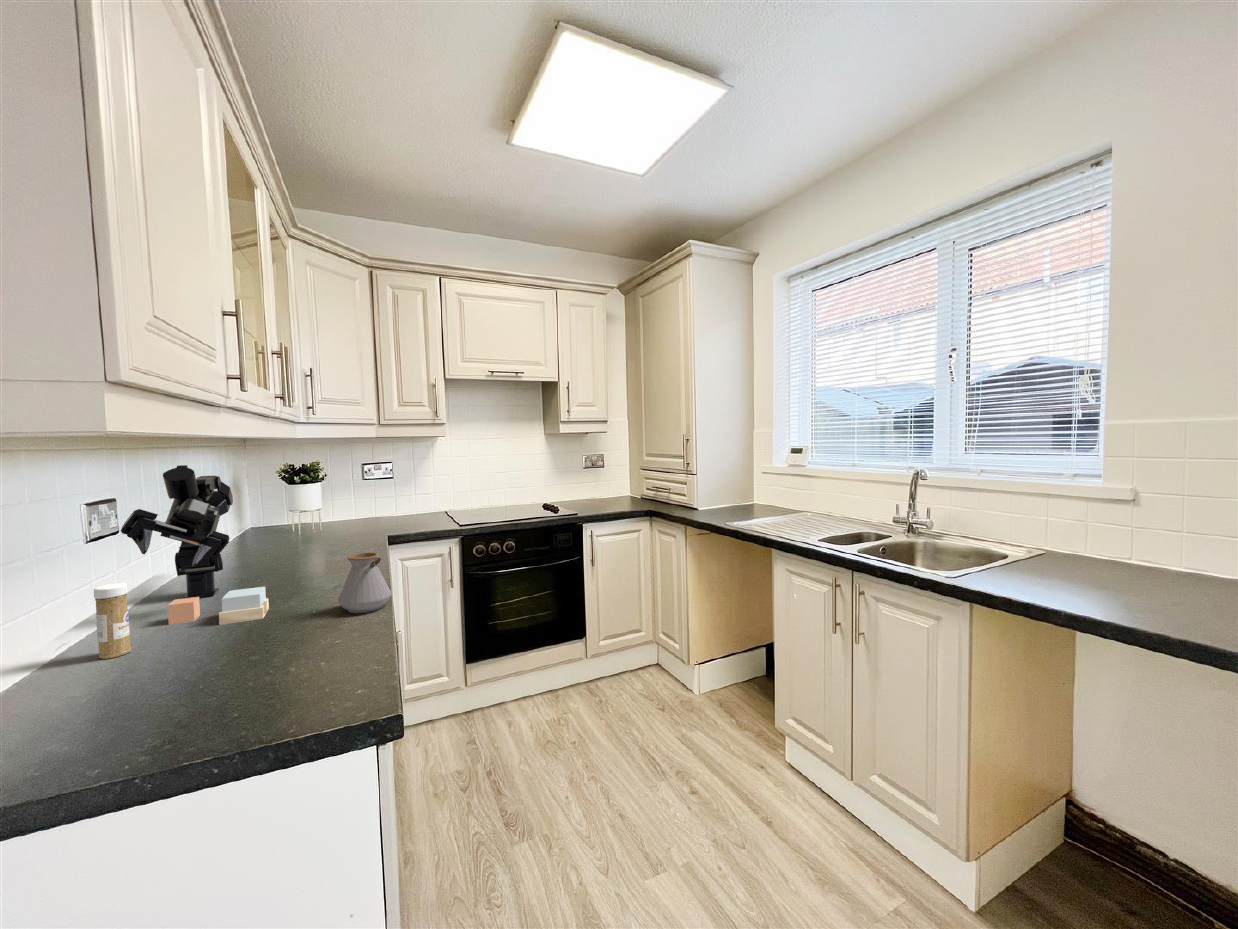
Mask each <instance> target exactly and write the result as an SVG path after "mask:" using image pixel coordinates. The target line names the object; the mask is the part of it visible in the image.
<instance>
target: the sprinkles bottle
mask: <svg viewBox="0 0 1238 929" xmlns="http://www.w3.org/2000/svg"><path fill="white" fill-rule="evenodd" d="M128 593H129V588H128V583H125V582H115V583H108V584H103V585H100V586H99V585H98V586H97V587H94V588H93V598H94V601H95V609H96V613H95V620H96V621H95V623H96V636H97V642H98V658H99V659H103V660H105V659H113V658H118V657H121V656H123V655H126V654H128V653H129V652H131V651H132V647H131V641H130V640H131V638H130V634H131V633H130V632H131V631H130V630H131V629H130V618H129V607H128Z"/></svg>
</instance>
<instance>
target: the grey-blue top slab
mask: <svg viewBox="0 0 1238 929" xmlns="http://www.w3.org/2000/svg"><path fill="white" fill-rule="evenodd" d="M266 595H267V594H266V586H258V587H252V588H251V587H249V588H242V589H241V588H240V589H234V590H233V589H232V590H229V591H228V592H226V593H225V595H223V597H222V598H221V610H222V612H226V611H234V610H242V609H249V608H257V607H261V605H262V604H263V602H264V601H265V599H266V598H267V596H266Z"/></svg>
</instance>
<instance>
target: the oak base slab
mask: <svg viewBox="0 0 1238 929" xmlns="http://www.w3.org/2000/svg"><path fill="white" fill-rule="evenodd" d="M269 601H270V600H269V598H268V597H266V599H265V601H264V602H263V604H262V605H261V607H257V608H249V609H242V610H234V611H226V612H222V609H221V610H220V612H219V613H218V621H219V622H218V623H219V626H220V625H221V626H222V625H228V624H234V623H235V624H237V623H243V622H250V621H256V620H263V619H264V617H265V616H266V614H267V613H268V611H269V609H270V605H269V604H270V603H269Z"/></svg>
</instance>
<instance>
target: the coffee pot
mask: <svg viewBox="0 0 1238 929" xmlns="http://www.w3.org/2000/svg"><path fill="white" fill-rule="evenodd" d="M346 559H347V560H348V562H350V564H351V568H350V570H349V573H348V575H347V578H346V579H345V581H344V585H343V587H342V589H341V592H340V593H339V596H338V604H339V605H340V607H341V608H343V609H344V610H347V612H348V613H351V614H365V613H370V612H374V611H378V610H380V609H381V608H383V607H384V605H385V604H386V603H387V602H388V601H389V600H390V598H391V596H392V591H391V589H390V587H389V586H388V584H387V581H386V579H385V578H384V576H383V575H382V572H381V571H380V570H381V569H380V568H381V567H383V566H384V565H385V564H386V561H385V560H384V559H383V558H381V557H379V553H377V552H363V553H356V554H352V555H349V556H348V557H347V558H346ZM381 560H382V561H383V564H382V565H381V566H379V565H378V564H380V563H381Z"/></svg>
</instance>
